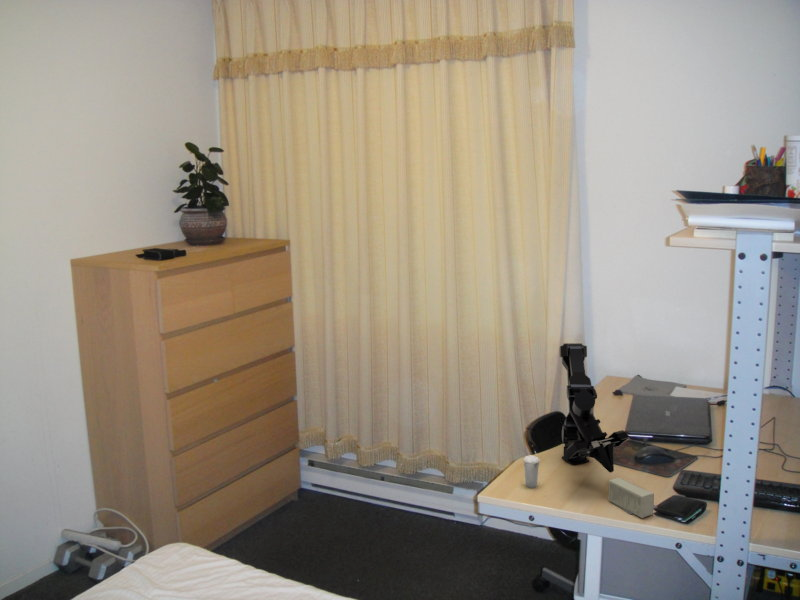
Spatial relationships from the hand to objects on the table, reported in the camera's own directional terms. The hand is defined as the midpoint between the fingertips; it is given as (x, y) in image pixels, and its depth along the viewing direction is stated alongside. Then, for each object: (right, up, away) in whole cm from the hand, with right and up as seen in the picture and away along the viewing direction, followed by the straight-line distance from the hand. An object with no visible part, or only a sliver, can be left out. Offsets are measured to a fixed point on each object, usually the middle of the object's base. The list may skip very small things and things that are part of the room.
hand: (611, 471), depth 194 cm
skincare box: (0, -5, +1) cm, 5 cm away
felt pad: (+5, -9, -2) cm, 10 cm away
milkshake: (-20, -7, +11) cm, 24 cm away
